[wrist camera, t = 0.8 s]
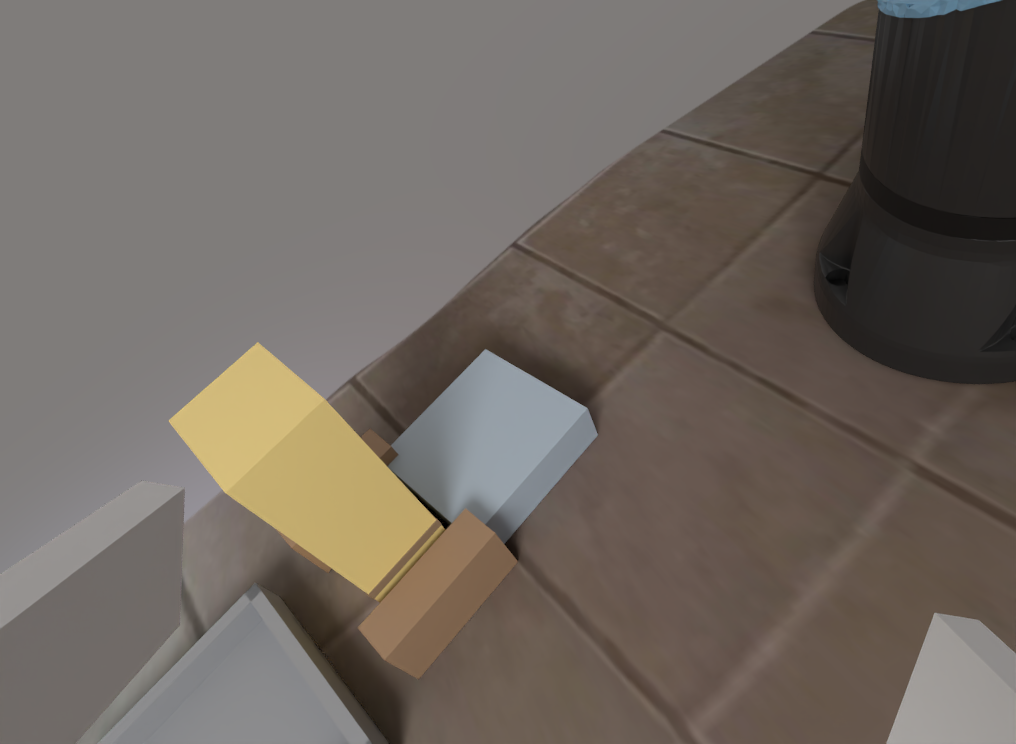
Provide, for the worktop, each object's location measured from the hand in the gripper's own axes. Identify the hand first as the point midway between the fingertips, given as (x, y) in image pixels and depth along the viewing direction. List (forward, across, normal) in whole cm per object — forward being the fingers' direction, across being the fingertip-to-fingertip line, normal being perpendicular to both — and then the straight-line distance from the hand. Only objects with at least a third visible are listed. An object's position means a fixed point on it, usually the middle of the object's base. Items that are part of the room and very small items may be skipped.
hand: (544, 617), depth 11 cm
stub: (+24, -6, -14) cm, 29 cm away
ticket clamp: (+26, -3, -11) cm, 29 cm away
